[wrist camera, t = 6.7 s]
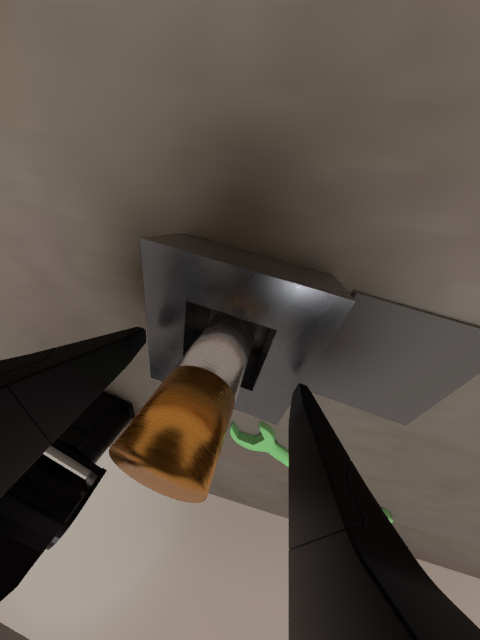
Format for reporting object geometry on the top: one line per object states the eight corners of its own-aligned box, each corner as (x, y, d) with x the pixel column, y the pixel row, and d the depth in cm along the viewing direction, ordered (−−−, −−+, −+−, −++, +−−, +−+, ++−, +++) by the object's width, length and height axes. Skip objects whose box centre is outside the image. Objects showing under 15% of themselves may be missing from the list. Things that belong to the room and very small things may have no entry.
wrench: (250, 403, 20) (226, 419, 23) (247, 419, 18) (221, 434, 21) (399, 514, 22) (361, 516, 25) (408, 537, 21) (366, 537, 23)
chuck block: (279, 381, 16) (276, 424, 12) (179, 346, 17) (150, 377, 13) (334, 276, 11) (355, 301, 7) (183, 233, 11) (139, 237, 8)
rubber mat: (402, 420, 14) (405, 425, 14) (297, 383, 15) (297, 387, 15) (515, 337, 10) (523, 341, 9) (354, 291, 11) (356, 293, 10)
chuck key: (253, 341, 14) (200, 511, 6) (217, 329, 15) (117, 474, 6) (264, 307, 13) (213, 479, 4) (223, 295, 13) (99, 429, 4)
